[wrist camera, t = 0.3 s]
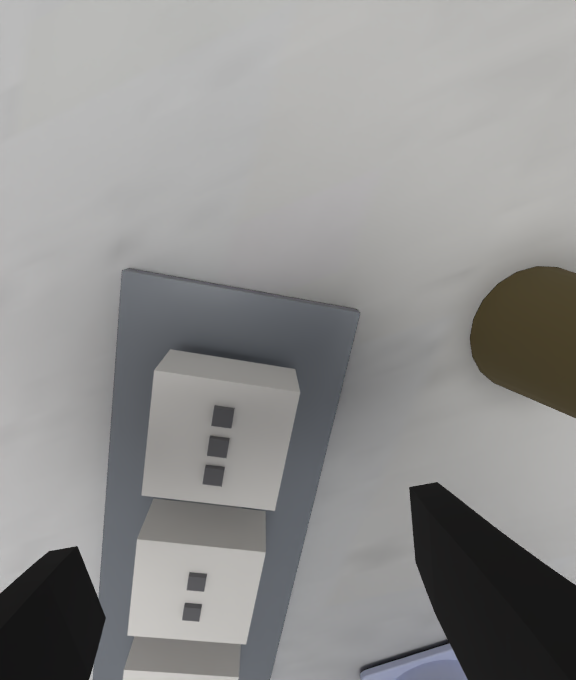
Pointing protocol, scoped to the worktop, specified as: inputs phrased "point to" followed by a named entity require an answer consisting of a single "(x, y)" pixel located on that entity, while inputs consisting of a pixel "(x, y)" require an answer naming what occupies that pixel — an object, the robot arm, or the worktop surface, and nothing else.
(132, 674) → the key one
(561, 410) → the cork
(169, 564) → the key two
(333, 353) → the keypad base
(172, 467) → the key three
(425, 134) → the worktop surface
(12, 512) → the worktop surface
